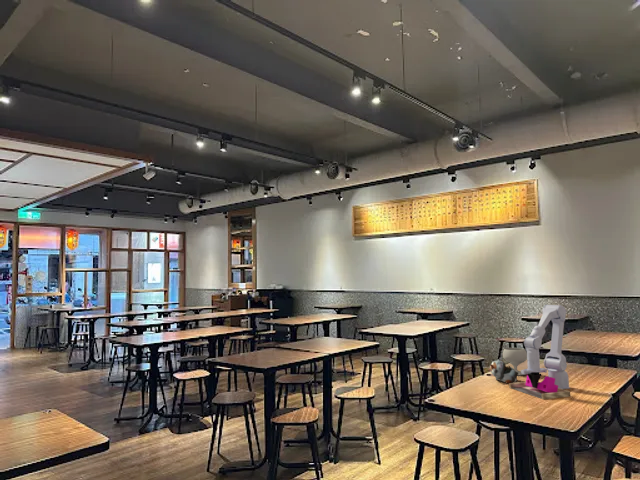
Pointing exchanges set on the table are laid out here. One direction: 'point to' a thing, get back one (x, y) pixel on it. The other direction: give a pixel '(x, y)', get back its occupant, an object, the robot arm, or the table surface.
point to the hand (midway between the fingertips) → (534, 387)
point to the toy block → (544, 384)
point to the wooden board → (538, 391)
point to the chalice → (515, 357)
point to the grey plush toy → (503, 372)
